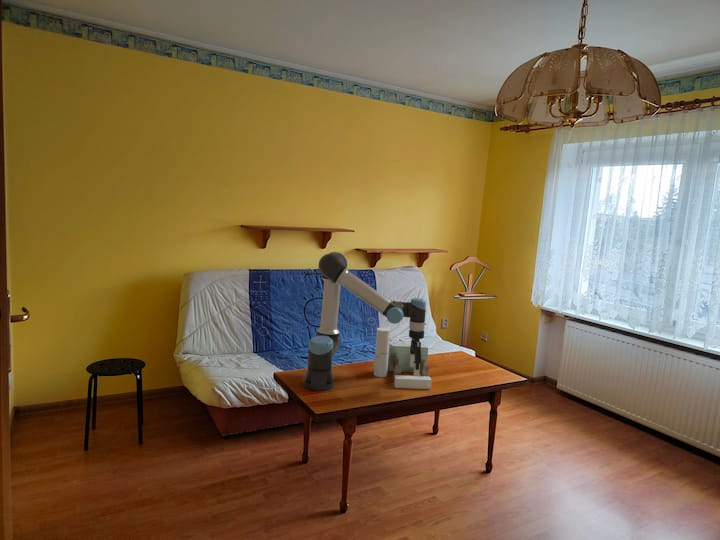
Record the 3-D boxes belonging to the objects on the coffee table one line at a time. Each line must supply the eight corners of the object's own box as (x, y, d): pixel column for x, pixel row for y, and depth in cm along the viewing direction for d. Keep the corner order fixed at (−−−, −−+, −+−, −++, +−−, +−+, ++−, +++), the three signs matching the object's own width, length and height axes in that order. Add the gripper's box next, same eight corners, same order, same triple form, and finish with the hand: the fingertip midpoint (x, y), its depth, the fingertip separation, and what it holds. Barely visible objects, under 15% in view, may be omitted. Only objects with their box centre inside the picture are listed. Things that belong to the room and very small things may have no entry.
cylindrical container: (386, 377, 245) (389, 331, 242) (372, 376, 246) (375, 330, 243) (387, 373, 252) (391, 328, 249) (374, 371, 253) (378, 327, 250)
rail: (395, 388, 232) (395, 378, 231) (393, 384, 236) (394, 375, 236) (430, 389, 233) (431, 380, 232) (428, 385, 238) (429, 376, 237)
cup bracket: (389, 382, 239) (391, 355, 237) (386, 370, 257) (388, 345, 255) (432, 384, 239) (434, 357, 238) (425, 371, 258) (427, 347, 256)
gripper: (428, 336, 219) (426, 379, 221) (420, 324, 244) (417, 363, 246) (413, 335, 219) (410, 379, 221) (405, 323, 243) (403, 362, 246)
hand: (414, 371), depth 234 cm, fingers open, 13 cm apart
